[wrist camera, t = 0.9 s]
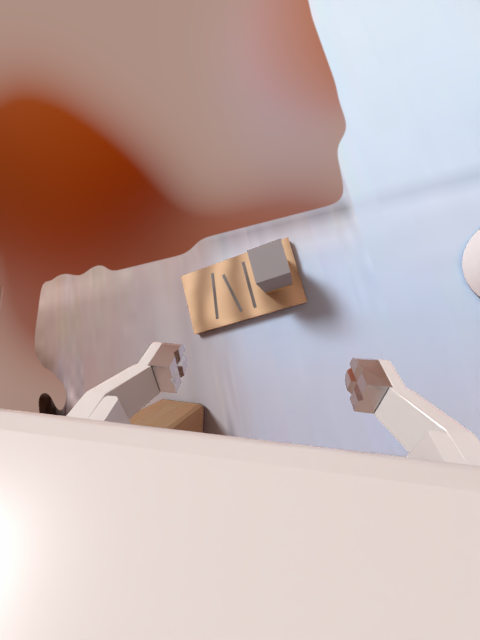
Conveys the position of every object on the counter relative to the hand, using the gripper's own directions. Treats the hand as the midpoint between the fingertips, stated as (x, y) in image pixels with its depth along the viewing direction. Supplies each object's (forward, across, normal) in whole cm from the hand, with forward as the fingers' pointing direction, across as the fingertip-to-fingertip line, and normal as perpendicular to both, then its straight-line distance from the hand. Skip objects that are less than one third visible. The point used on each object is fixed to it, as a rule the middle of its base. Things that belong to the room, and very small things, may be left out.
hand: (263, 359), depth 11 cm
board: (+30, +5, +12) cm, 33 cm away
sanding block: (+30, -1, +9) cm, 31 cm away
